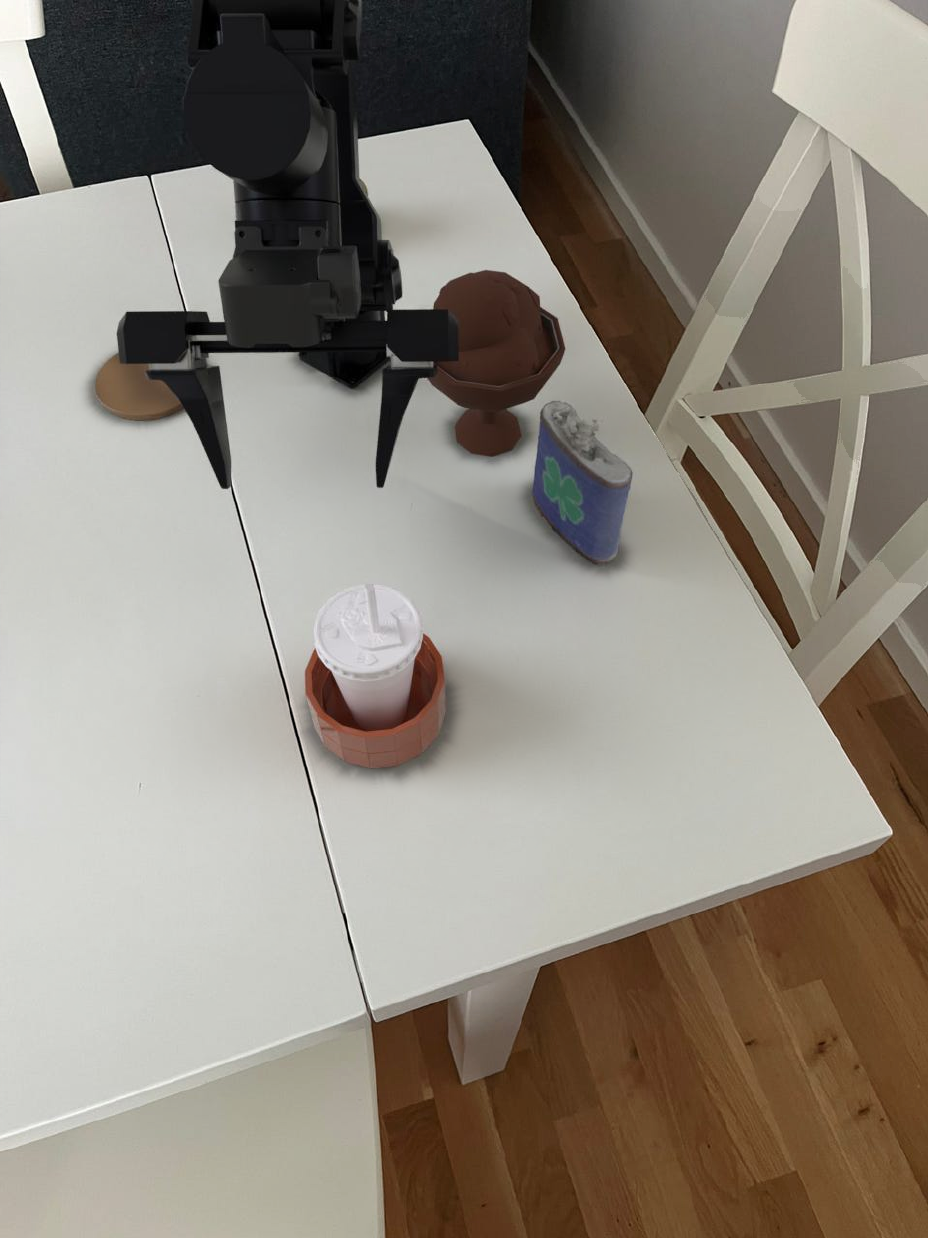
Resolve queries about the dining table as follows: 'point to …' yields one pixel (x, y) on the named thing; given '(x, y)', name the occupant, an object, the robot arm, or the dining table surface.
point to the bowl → (382, 744)
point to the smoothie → (370, 651)
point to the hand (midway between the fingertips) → (303, 487)
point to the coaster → (133, 392)
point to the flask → (579, 484)
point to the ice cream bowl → (496, 356)
